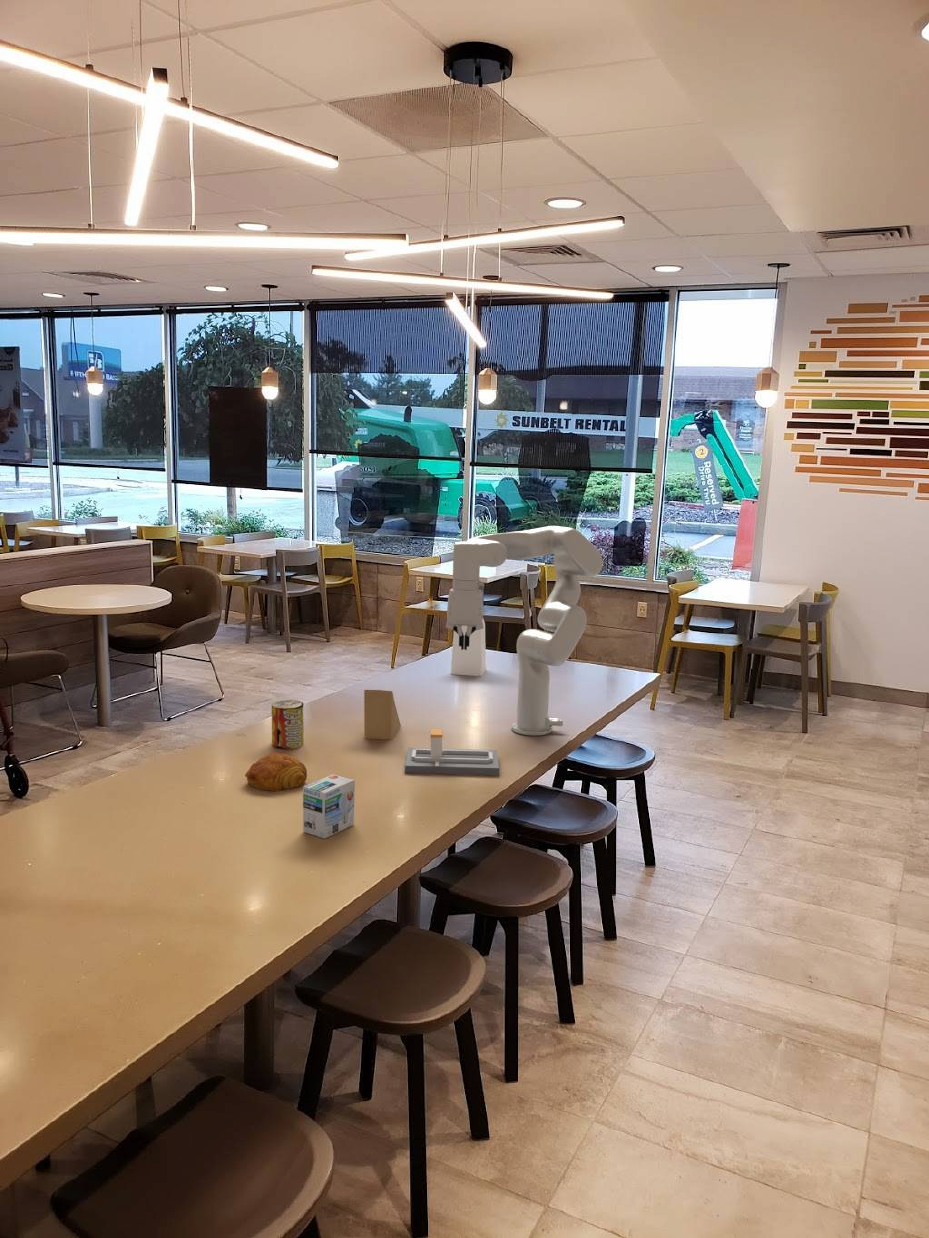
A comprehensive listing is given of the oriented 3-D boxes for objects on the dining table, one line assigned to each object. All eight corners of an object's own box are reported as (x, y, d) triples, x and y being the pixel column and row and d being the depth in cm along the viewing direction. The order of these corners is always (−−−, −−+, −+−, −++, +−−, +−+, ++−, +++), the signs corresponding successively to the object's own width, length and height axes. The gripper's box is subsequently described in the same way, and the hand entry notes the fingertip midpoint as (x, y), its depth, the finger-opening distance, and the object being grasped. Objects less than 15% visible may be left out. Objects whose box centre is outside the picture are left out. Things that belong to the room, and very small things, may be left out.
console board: (496, 756, 263) (496, 746, 262) (498, 775, 248) (499, 764, 247) (407, 754, 262) (408, 744, 262) (404, 772, 248) (405, 762, 247)
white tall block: (450, 674, 358) (452, 607, 353) (455, 667, 369) (457, 602, 364) (481, 676, 356) (483, 609, 351) (485, 669, 367) (487, 604, 362)
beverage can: (265, 745, 266) (264, 705, 264) (285, 737, 274) (285, 698, 272) (290, 751, 262) (290, 710, 260) (310, 742, 270) (309, 702, 268)
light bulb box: (324, 839, 204) (324, 793, 202) (301, 832, 208) (301, 786, 206) (355, 824, 213) (355, 779, 211) (332, 817, 217) (332, 773, 215)
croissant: (283, 776, 249) (281, 746, 248) (317, 784, 238) (315, 753, 237) (235, 787, 239) (233, 756, 238) (268, 796, 228) (266, 764, 227)
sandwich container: (402, 725, 290) (402, 678, 288) (392, 740, 275) (392, 691, 273) (375, 723, 291) (375, 677, 289) (363, 738, 276) (364, 689, 274)
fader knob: (442, 752, 257) (442, 729, 256) (441, 759, 252) (442, 734, 251) (430, 752, 257) (431, 729, 256) (430, 758, 252) (430, 734, 251)
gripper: (491, 584, 266) (489, 646, 269) (439, 582, 266) (438, 645, 269) (492, 588, 259) (490, 652, 262) (439, 586, 259) (437, 651, 262)
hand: (463, 648), depth 266 cm, fingers closed
